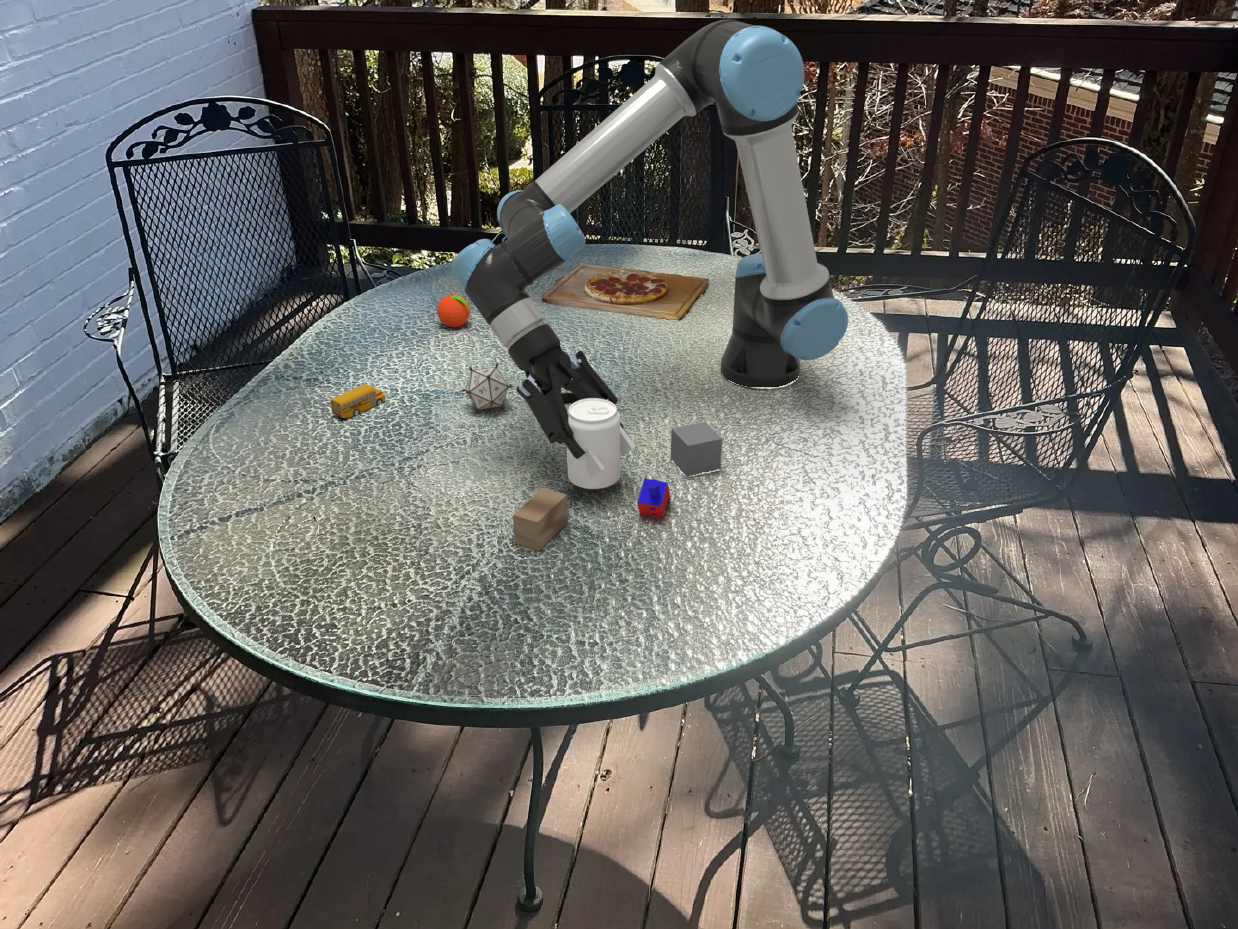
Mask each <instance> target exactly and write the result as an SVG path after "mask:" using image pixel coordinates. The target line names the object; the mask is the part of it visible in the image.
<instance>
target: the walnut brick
mask: <svg viewBox="0 0 1238 929" xmlns="http://www.w3.org/2000/svg"><path fill="white" fill-rule="evenodd" d="M568 510H569V509H568V494H566V493H563V492H559V491H555V490H553V489H549V488H546V487H542V488H541V489H540V490H539V491H538V492H536V493H535V494H534V495H533V496H532V497H531V498H529V500H527V501H526V502H525V503H524V504H523V505H522V506H521V507H520V508H519V509H518V510H516V511H515V512H514V513H513V514H512V519H513V520H512V522H513V534H514V535H513V537H514V544H516V545H518V546H522V547H525V548H528V549H531V550H534V551H536V552H540V550H542V549H543V548H544V547H545V546H546V545H547V544H548V543H549V542H550V541H551V540H552V539H553V538H554V537H555V536H557V534H558V533H559V532H560V531H561V530H562V529H563V528H564V527H565V526H566V525H567V524H569V519H568V518H569V517H568V516H569V515H568Z"/></svg>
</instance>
